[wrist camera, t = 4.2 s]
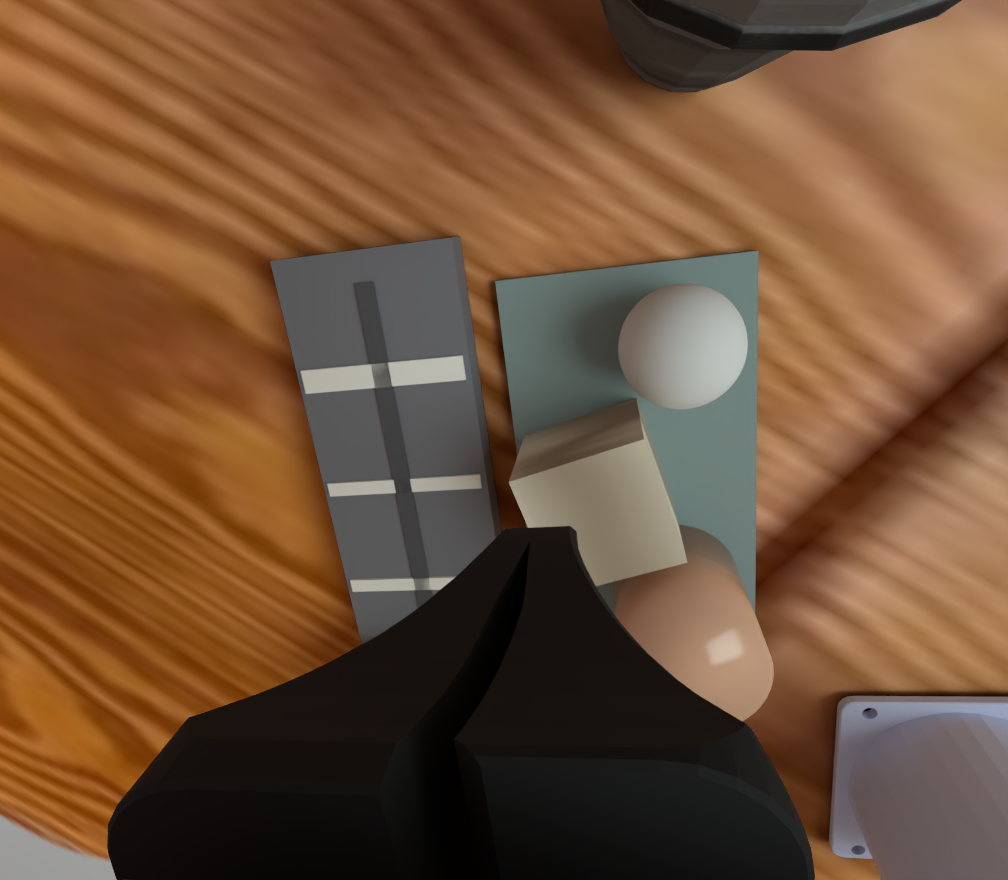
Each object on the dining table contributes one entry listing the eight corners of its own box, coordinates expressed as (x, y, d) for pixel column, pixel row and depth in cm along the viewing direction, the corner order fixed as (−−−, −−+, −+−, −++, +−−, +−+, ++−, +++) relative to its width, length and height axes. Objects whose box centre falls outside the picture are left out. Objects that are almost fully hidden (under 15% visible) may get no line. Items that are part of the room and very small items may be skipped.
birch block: (636, 397, 21) (644, 439, 17) (672, 502, 22) (687, 562, 18) (524, 435, 22) (508, 482, 18) (564, 533, 23) (557, 596, 19)
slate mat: (755, 250, 19) (758, 250, 18) (753, 636, 23) (754, 642, 23) (496, 280, 20) (495, 281, 20) (541, 639, 25) (540, 644, 24)
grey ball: (733, 270, 19) (762, 283, 15) (734, 386, 20) (760, 420, 17) (613, 284, 19) (615, 299, 16) (620, 394, 21) (623, 430, 17)
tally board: (459, 236, 20) (450, 237, 19) (526, 709, 26) (522, 733, 25) (287, 258, 21) (268, 261, 20) (390, 707, 27) (381, 730, 26)
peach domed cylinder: (737, 522, 22) (775, 607, 17) (737, 628, 23) (772, 734, 18) (608, 527, 22) (611, 610, 18) (617, 630, 24) (621, 731, 19)
